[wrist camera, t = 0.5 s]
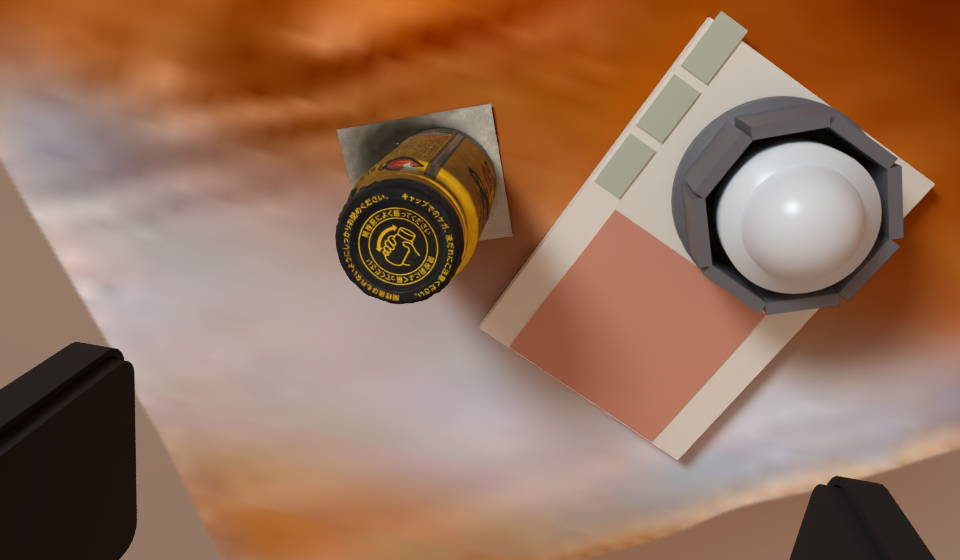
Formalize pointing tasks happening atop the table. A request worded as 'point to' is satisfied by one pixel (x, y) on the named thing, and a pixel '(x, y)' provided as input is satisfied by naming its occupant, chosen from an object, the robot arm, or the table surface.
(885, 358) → the table surface
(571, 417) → the table surface
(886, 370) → the table surface
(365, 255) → the condiment
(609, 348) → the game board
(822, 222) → the dome
